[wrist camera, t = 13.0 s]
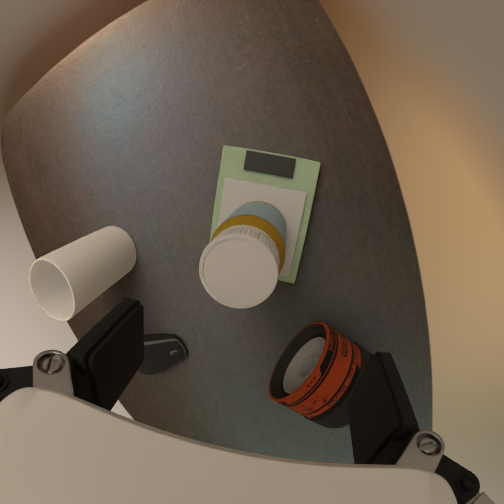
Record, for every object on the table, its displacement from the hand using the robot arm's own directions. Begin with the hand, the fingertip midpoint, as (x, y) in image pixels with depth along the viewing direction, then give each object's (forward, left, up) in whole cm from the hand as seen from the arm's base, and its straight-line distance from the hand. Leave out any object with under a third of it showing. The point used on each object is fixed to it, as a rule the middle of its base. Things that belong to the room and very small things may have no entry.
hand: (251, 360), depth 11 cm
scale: (0, -2, -30) cm, 30 cm away
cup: (+10, -24, -30) cm, 40 cm away
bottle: (+1, -2, -27) cm, 27 cm away
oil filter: (+20, +12, -30) cm, 38 cm away
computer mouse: (+27, -16, -30) cm, 44 cm away
